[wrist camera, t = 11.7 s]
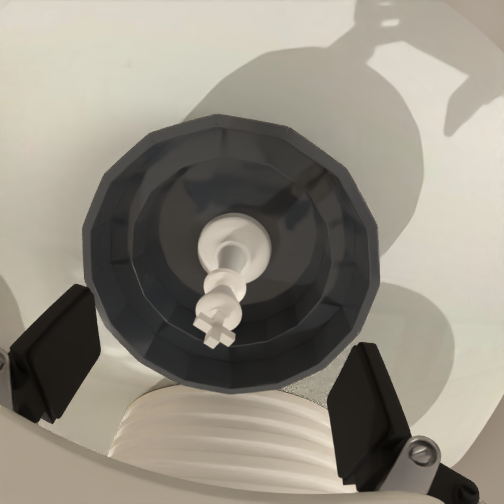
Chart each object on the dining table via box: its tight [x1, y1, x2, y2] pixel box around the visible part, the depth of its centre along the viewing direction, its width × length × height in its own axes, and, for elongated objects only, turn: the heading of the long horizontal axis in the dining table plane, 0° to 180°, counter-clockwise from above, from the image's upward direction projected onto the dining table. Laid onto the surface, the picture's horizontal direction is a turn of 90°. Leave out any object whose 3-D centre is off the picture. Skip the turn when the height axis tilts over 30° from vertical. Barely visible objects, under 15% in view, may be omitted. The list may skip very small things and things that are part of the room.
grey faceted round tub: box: [82, 114, 380, 395], centre depth 18 cm, size 16×16×6 cm
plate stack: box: [107, 385, 357, 494], centre depth 25 cm, size 28×28×12 cm
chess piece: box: [193, 213, 272, 349], centre depth 15 cm, size 5×5×10 cm
